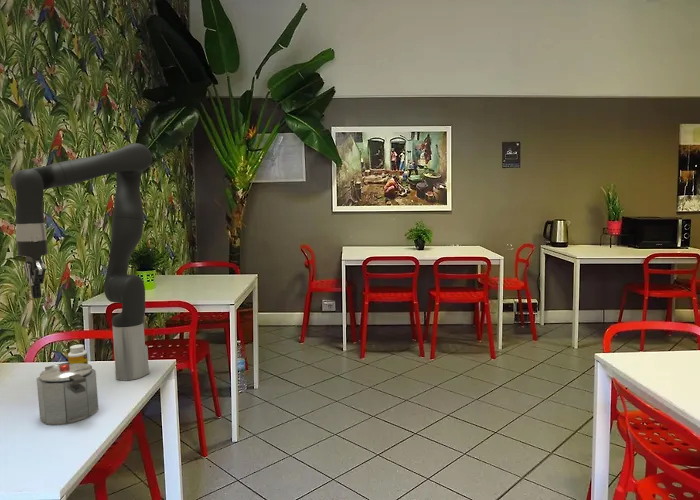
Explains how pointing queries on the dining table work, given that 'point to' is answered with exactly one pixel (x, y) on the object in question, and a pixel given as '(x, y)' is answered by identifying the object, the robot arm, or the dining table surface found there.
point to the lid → (66, 372)
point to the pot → (67, 400)
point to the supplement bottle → (77, 355)
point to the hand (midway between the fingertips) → (36, 297)
